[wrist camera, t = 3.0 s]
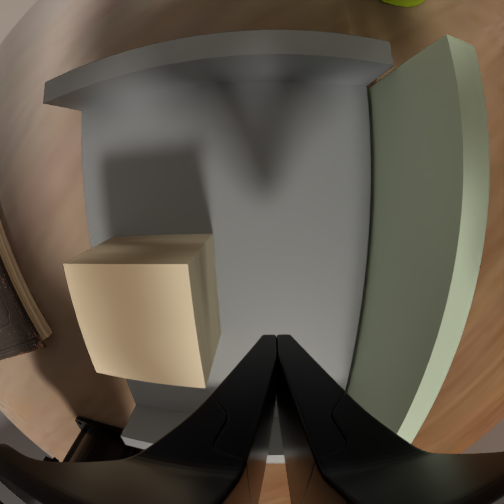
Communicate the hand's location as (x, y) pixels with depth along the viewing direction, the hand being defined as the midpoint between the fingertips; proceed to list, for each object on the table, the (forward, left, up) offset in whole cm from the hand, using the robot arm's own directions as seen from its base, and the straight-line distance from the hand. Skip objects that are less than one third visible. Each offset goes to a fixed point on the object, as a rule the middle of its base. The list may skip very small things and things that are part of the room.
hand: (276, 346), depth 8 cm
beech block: (-5, 0, -4) cm, 7 cm away
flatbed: (-2, 0, -6) cm, 6 cm away
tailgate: (+5, 0, -6) cm, 8 cm away
